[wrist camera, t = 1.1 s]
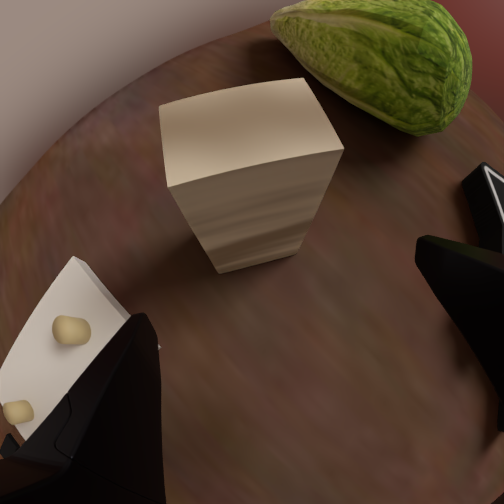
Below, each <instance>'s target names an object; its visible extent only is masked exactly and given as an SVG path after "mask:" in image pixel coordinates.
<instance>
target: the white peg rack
mask: <svg viewBox="0 0 504 504" xmlns="http://www.w3.org/2000/svg"><path fill="white" fill-rule="evenodd" d="M130 316H131V315H130V314H129V313H128V312H127V311H126V310H125V309H124V308H123V307H122V306H121V304H120V303H119V302H118V301H117V300H116V299H115V298H114V296H113V295H112V294H111V293H110V292H109V291H108V289H107V288H106V287H105V286H104V285H103V283H102V282H101V281H100V280H99V279H98V277H97V276H96V275H95V274H94V272H93V271H92V270H91V269H90V267H89V266H88V265H87V263H86V262H84V261H82V260H80V259H78V258H76V257H74V256H73V257H72V258H71V259H70V260H69V262H68V263H67V264H66V266H65V267H64V268H63V270H62V271H61V272H60V274H59V275H58V276H57V278H56V279H55V281H54V282H53V283H52V285H51V286H50V288H49V289H48V291H47V292H46V293H45V295H44V296H43V298H42V299H41V301H40V302H39V304H38V305H37V307H36V308H35V310H34V311H33V313H32V315H31V316H30V318H29V319H28V321H27V323H26V324H25V326H24V328H23V329H22V331H21V333H20V334H19V336H18V338H17V339H16V341H15V343H14V345H13V347H12V348H11V350H10V352H9V354H8V356H7V358H6V360H5V361H4V363H3V365H2V367H1V369H0V403H1V404H2V406H3V412H4V415H5V418H6V419H7V421H8V422H9V423H10V424H12V425H15V426H16V428H17V429H18V431H19V432H20V434H21V435H22V437H23V438H24V439H25V441H26V440H27V439H28V438H29V437H30V435H31V434H32V433H33V432H34V431H35V430H36V429H37V428H38V426H39V425H40V424H41V423H42V422H43V421H44V420H45V418H46V417H47V416H48V415H49V414H50V413H51V411H52V410H53V409H54V408H55V407H56V405H57V404H58V403H59V402H60V400H61V399H62V398H63V396H64V395H65V394H66V393H68V390H69V389H70V388H71V386H72V385H73V384H74V383H75V381H76V380H77V379H78V378H79V376H80V375H81V374H82V373H83V372H84V370H85V369H86V368H87V367H88V366H89V364H90V363H91V362H92V361H93V359H94V358H95V357H96V356H97V355H98V353H99V352H100V351H101V350H102V349H103V348H104V346H105V345H106V344H107V343H108V342H109V341H110V339H111V338H112V337H113V336H114V335H115V334H116V332H117V331H118V330H119V329H120V328H121V327H122V325H123V324H124V323H125V322H126V321H127V320H128V319H129V317H130ZM160 348H161V347H160V346H159V345H158V350H159V349H160Z"/></svg>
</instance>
